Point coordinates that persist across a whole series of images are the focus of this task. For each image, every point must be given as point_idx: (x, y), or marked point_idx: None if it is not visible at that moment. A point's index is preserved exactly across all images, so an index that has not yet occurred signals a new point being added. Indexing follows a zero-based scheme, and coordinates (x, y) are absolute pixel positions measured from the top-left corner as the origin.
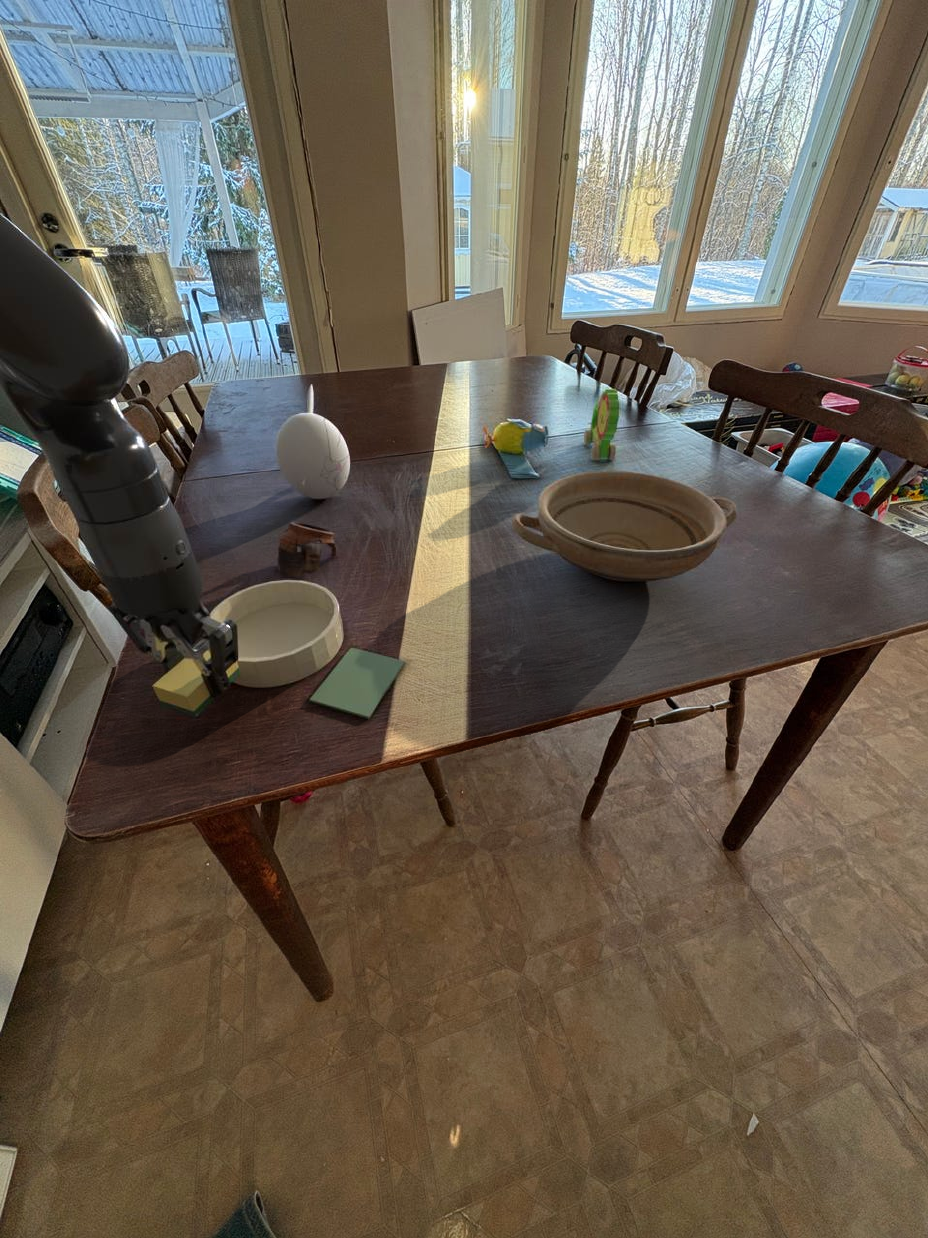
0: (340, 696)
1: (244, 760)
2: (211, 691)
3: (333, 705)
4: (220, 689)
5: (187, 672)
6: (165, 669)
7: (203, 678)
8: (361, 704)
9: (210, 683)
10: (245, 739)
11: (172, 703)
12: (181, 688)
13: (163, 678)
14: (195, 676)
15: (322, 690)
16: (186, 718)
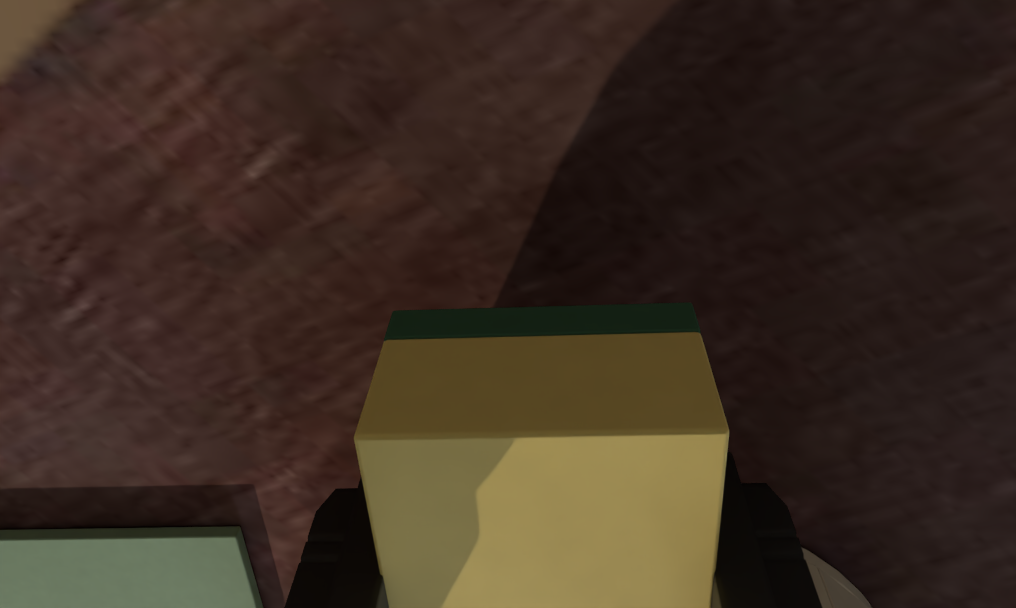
0: (132, 582)
1: (236, 187)
2: (364, 502)
3: (118, 542)
4: (311, 533)
5: (564, 595)
6: (759, 570)
7: (367, 599)
8: (23, 577)
9: (341, 566)
10: (334, 283)
11: (570, 343)
12: (470, 482)
13: (697, 508)
14: (477, 586)
15: (225, 584)
16: (716, 278)
